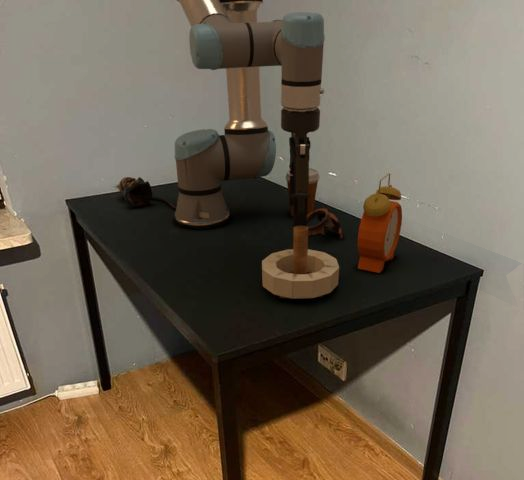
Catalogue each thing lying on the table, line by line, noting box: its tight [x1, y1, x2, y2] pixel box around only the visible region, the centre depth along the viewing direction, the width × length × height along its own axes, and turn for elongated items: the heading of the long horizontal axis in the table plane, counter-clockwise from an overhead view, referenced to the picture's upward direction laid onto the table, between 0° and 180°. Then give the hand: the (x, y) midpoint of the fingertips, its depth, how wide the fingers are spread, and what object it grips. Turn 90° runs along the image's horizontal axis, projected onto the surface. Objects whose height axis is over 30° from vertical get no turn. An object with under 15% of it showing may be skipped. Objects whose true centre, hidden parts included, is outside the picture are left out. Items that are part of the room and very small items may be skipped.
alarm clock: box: [357, 173, 403, 274], centre depth 123 cm, size 13×6×20 cm, turn 151°
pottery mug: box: [307, 207, 343, 240], centre depth 142 cm, size 12×10×8 cm
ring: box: [261, 248, 340, 300], centre depth 117 cm, size 16×16×4 cm
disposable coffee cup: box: [284, 167, 321, 217], centre depth 154 cm, size 10×10×12 cm
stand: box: [279, 226, 324, 299], centre depth 114 cm, size 9×9×14 cm
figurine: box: [117, 176, 153, 209], centre depth 167 cm, size 9×8×15 cm
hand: (297, 215), depth 118 cm, fingers open, 12 cm apart
